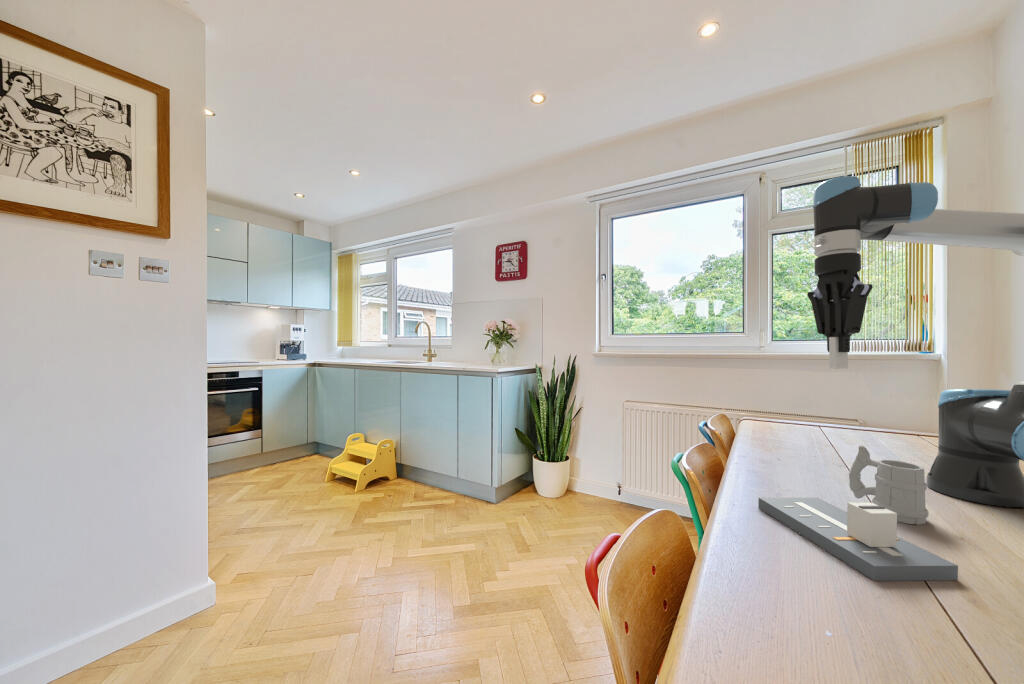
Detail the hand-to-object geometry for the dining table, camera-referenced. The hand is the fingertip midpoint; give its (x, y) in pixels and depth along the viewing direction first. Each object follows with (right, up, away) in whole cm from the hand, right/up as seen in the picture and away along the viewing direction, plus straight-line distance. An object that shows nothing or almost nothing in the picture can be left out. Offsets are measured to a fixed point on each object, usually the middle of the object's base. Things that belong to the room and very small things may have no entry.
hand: (838, 368), depth 83 cm
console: (-13, -27, -16) cm, 34 cm away
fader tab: (-13, -25, -22) cm, 36 cm away
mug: (+4, -28, -6) cm, 29 cm away
